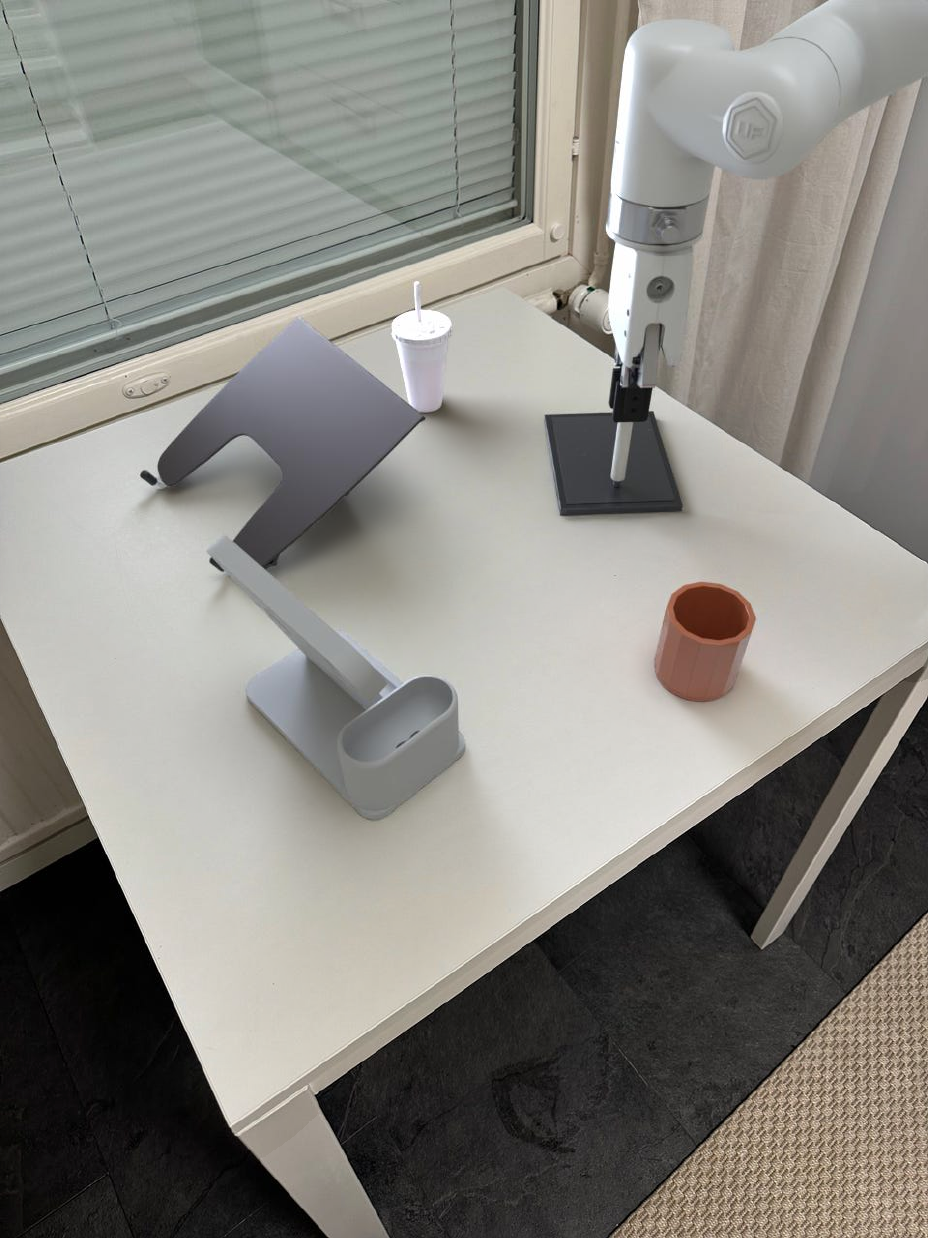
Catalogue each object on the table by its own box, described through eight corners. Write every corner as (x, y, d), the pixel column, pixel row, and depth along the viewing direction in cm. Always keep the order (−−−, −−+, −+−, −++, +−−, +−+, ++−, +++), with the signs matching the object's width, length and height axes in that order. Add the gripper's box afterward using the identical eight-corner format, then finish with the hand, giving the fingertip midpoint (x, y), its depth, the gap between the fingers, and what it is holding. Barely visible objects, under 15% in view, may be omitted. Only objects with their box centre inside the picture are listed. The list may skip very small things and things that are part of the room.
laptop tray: (182, 504, 98) (124, 457, 90) (331, 359, 99) (287, 300, 91) (284, 627, 85) (227, 585, 78) (455, 460, 86) (415, 402, 78)
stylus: (622, 480, 89) (641, 355, 79) (624, 489, 88) (643, 363, 78) (608, 480, 89) (625, 355, 79) (610, 489, 88) (627, 364, 78)
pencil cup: (724, 638, 76) (742, 579, 71) (744, 701, 71) (765, 643, 66) (647, 640, 76) (660, 582, 71) (662, 704, 71) (677, 646, 66)
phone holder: (475, 750, 68) (475, 585, 55) (373, 832, 64) (347, 672, 51) (336, 629, 77) (308, 461, 64) (238, 693, 72) (185, 526, 59)
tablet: (652, 416, 98) (653, 410, 98) (681, 511, 87) (683, 504, 87) (544, 420, 98) (544, 413, 97) (559, 515, 87) (560, 508, 86)
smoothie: (433, 381, 103) (428, 264, 93) (465, 406, 100) (463, 288, 90) (386, 399, 101) (376, 281, 91) (417, 426, 97) (410, 306, 87)
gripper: (728, 256, 64) (685, 463, 77) (683, 171, 74) (652, 366, 88) (624, 259, 64) (598, 466, 77) (594, 174, 74) (576, 369, 88)
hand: (627, 412), depth 83 cm, fingers closed on stylus, 1 cm apart
